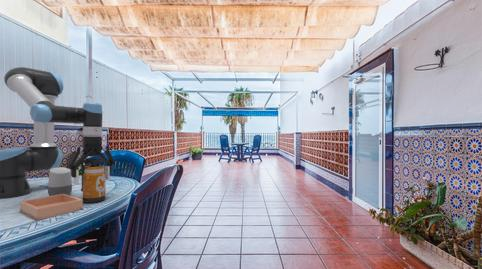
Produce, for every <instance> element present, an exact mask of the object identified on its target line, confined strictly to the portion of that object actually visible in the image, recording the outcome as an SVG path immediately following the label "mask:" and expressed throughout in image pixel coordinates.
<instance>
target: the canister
mask: <svg viewBox="0 0 482 269" xmlns="http://www.w3.org/2000/svg"><path fill="white" fill-rule="evenodd" d="M101 163H104V162H103V160H101V158H100V157H98V158H93V156H91V157H90V158H88V157H87V158H86V159H85V160H84V161H83V162H82V163H81V165H80V167H81V188H80V191H81V192H82V200H83V203H87V204H88V203H89V204H95V203H99V202H102V201H103V200H105V199H106V181H107V180H106V173H105V166H103V165H100V164H101Z"/></svg>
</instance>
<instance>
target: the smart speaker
mask: <svg viewBox="0 0 482 269" xmlns="http://www.w3.org/2000/svg"><path fill="white" fill-rule="evenodd" d="M71 175H72V170H71V169H67V168H66V167H63V166H62V167H59V166H58V167H56V168H52V169H49V174H48V184H47V193H48V196H54V195H59V194H66V195H70V196H71V194H72V191H73V181H72V180H73V179H72V176H71Z"/></svg>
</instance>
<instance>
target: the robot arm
mask: <svg viewBox="0 0 482 269" xmlns="http://www.w3.org/2000/svg"><path fill="white" fill-rule="evenodd" d="M3 80H4V83H5V85H6V87H7V88H8V89H9V90H10V91H12V92H14V93H16V94H17V95H18V96H19V97H20V99H22V100H23V101H24V102H25V103H26V105H27V106H28V107H29V108H30V110H29V115H30V118H31V120H32V121H33V143H32V144H30V145H29V149H28V148H27V147H25V146H21V147H20V146H19V147H10V148H9V147H8V148H3V149H0V199H6V198H7V199H10V198H17V197H21V196H25V195H29V194H30V193H32V192H31V191H32V190H31V189H32V188H31V186H30V184H29V183H30V182H28V179H27V173H29V172H30V173H31V172H37V171H50V169H52V168H58V167H59V166H60V164H61V162H62V159H63V153H62V150H61V149H60V148H58V145H57V144H56V143H55V123H56V124H57V123H58V124H61V123H62V124H75V125H81V124H83V125H82V126H83V127H82V136H83V137H82V147H79V146H76V147H74V152H73V154H72V156H71V157H70V159H69V161H68V163H67V165H66V167H65V168H67V169H70V170H71V178H73V185H75V186H79V184H80V183H79V182H80V180H79V178H80V177H79V175H80V174H79V172H80V171H79V169H78V168H80V167H81V163H82V162H83V161H84V160H85V159H87V158H88V157H90V158H91V157H98V158H101V160H103V162H102V163H104V164H105V166H104V172H105V173H106V180H105V181H107V180H109V181H110V175H111V174H110V173H111V172H112V166H113V165H115V164H116V162H115V159H114V158H113V157H114V156H113V155H112V153H111V152H110V147H109V146H108V145H104V146H103V137H102V135H103V105H102V104H101V103H100V102H99V103H98V102H91V101H90V102H87V101H86V102H84V103H83V105H82V107H73V106H62V105H55V100H56V99H58V98H59V95H61V94H62V93H63V90H64V82H63V80H62V78H61V76H60V75H59V74H57V73H53V72H50V71H46V70H40V69H34V68H29V67H24V66H21V67H20V66H19V67H14V68H11V69H9V70H8V71H7V72H6V73H5V75H4V78H3ZM102 151H103V152H104V154H105V155H104V154H103V152H102ZM81 152H83V153H82V154H81ZM80 154H81V155H80ZM79 156H80V157H79Z"/></svg>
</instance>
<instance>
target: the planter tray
mask: <svg viewBox="0 0 482 269" xmlns="http://www.w3.org/2000/svg"><path fill="white" fill-rule="evenodd" d="M83 204H84V202H83V198H79V197H75V196H72V195H71V194H70V195H66V194H59V195H54V196H49V195H48V196H45V197H38V198H34V199H33V198H32V199H27V200H22V201H19V213H21V214H23V215H26V216H27V217H29V218H31V219H33V220H35V221H40V220H45V219H47V218H52V217H56V216H60V215H65V214H69V213H73V212H77V211H81V210H83V209H84V208H83Z"/></svg>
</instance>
